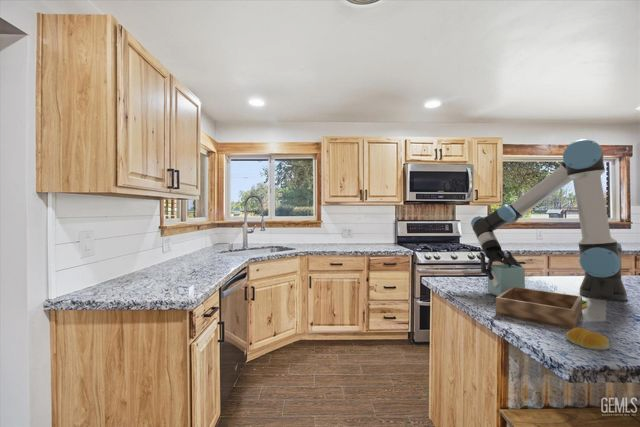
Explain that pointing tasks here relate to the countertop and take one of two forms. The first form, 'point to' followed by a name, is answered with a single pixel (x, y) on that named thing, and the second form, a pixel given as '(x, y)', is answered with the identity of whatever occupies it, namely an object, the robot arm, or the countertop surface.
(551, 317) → the big walnut crate
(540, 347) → the countertop surface
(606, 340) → the bread roll
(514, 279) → the small teal crate
